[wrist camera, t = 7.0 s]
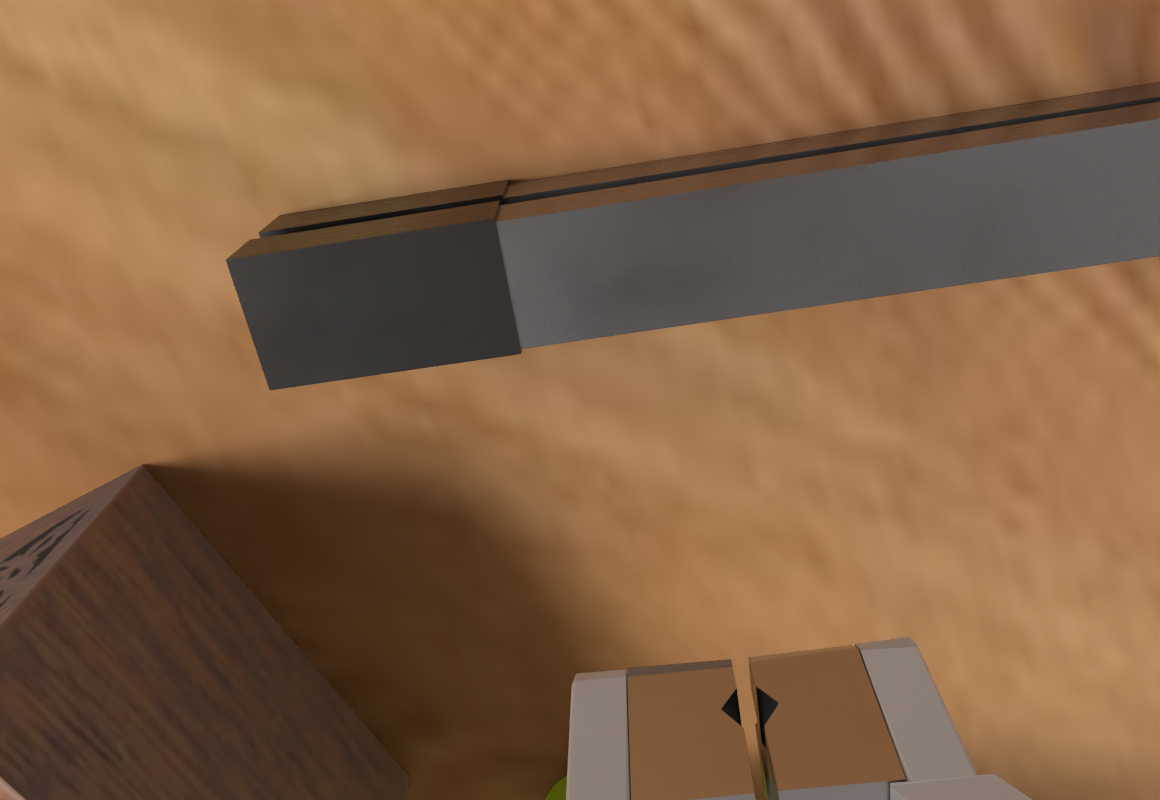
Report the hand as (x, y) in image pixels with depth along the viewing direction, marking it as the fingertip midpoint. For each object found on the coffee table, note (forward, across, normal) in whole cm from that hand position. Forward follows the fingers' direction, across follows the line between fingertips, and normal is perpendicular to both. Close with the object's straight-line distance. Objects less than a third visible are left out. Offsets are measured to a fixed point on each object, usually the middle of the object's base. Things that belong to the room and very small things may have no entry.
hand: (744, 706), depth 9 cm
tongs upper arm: (+14, +2, 0) cm, 14 cm away
